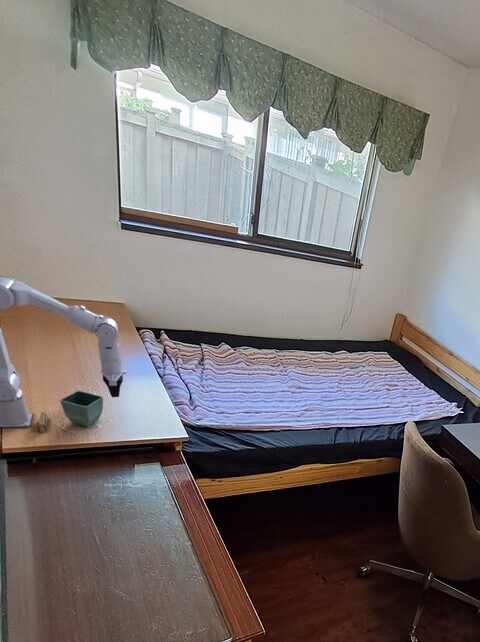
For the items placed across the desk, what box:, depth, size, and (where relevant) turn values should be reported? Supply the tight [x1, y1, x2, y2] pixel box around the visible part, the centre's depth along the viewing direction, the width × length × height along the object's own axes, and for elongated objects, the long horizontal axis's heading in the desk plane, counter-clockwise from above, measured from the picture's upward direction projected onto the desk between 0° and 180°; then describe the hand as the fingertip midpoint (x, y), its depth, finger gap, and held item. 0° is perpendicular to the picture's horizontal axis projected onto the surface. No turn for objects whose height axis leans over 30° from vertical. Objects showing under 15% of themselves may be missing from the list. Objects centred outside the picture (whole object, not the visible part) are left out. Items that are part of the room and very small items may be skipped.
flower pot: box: [59, 390, 104, 428], centre depth 149 cm, size 9×9×9 cm
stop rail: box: [38, 411, 49, 433], centre depth 144 cm, size 2×8×3 cm, turn 27°
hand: (115, 396), depth 151 cm, fingers closed
